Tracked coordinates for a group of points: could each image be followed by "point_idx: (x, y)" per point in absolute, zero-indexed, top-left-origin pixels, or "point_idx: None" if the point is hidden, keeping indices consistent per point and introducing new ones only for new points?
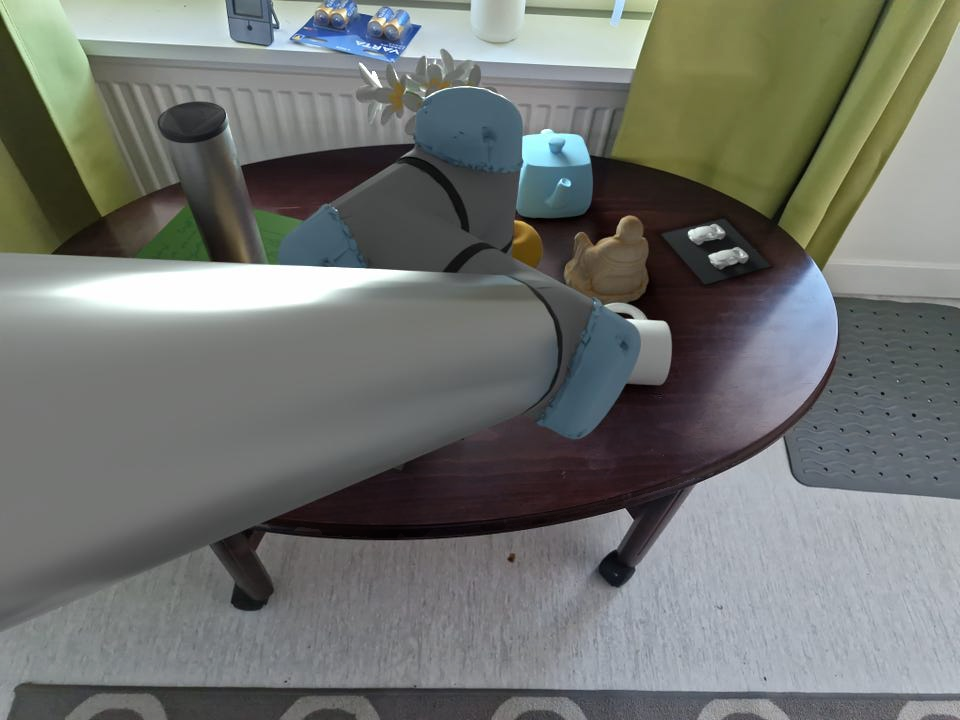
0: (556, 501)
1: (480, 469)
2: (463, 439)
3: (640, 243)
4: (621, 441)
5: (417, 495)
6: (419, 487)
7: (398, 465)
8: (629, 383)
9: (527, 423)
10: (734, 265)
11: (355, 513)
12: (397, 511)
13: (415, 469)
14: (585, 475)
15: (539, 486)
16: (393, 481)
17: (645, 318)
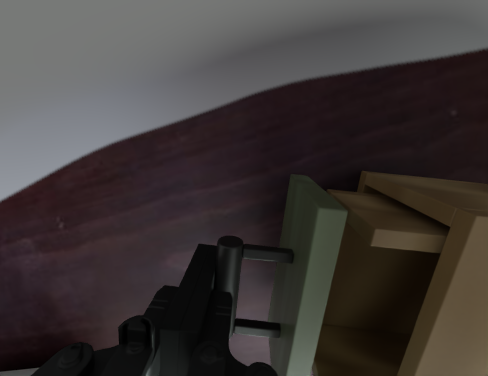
0: (54, 179)
1: (175, 206)
2: (198, 244)
3: None
4: (5, 286)
5: (255, 142)
6: (256, 156)
7: (297, 177)
8: (3, 373)
9: (132, 288)
10: None
11: (347, 86)
12: (279, 107)
13: (270, 185)
14: (31, 227)
15: (85, 197)
16: (298, 157)
17: None
